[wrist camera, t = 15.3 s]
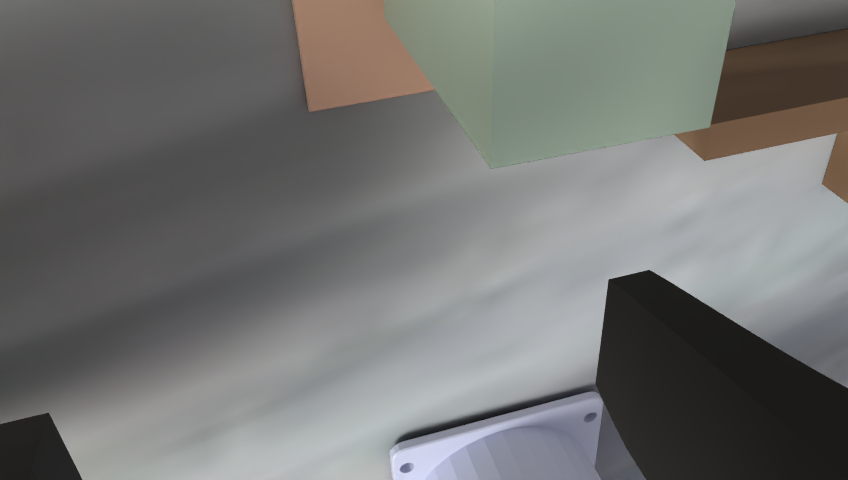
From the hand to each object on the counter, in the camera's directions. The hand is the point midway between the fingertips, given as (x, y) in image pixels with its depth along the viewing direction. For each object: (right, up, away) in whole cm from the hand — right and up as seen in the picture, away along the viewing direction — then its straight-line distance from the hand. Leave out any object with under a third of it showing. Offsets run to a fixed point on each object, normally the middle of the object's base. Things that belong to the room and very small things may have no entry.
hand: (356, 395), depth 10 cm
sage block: (+2, +9, +7) cm, 12 cm away
